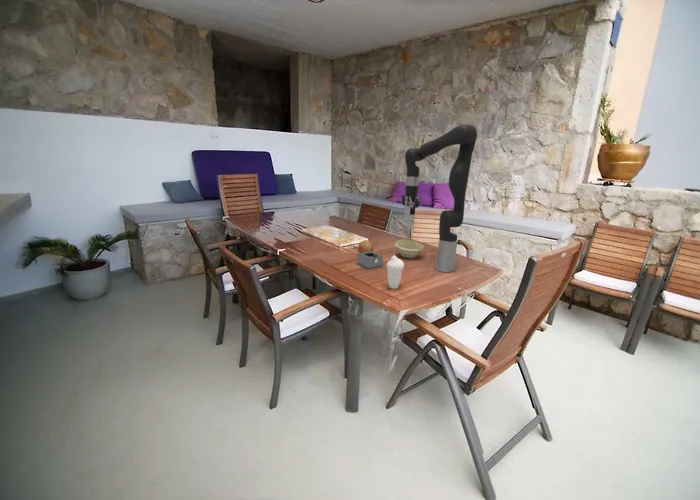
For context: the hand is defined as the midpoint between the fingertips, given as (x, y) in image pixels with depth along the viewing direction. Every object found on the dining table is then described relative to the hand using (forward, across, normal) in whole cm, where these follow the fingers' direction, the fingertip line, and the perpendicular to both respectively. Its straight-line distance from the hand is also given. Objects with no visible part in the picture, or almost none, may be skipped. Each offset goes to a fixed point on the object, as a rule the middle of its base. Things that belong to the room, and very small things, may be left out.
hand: (409, 213), depth 189 cm
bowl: (+28, 0, -2) cm, 28 cm away
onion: (+27, +14, +21) cm, 37 cm away
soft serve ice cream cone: (+28, -32, +37) cm, 56 cm away
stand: (+27, -3, +30) cm, 41 cm away
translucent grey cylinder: (+7, 0, 0) cm, 7 cm away
